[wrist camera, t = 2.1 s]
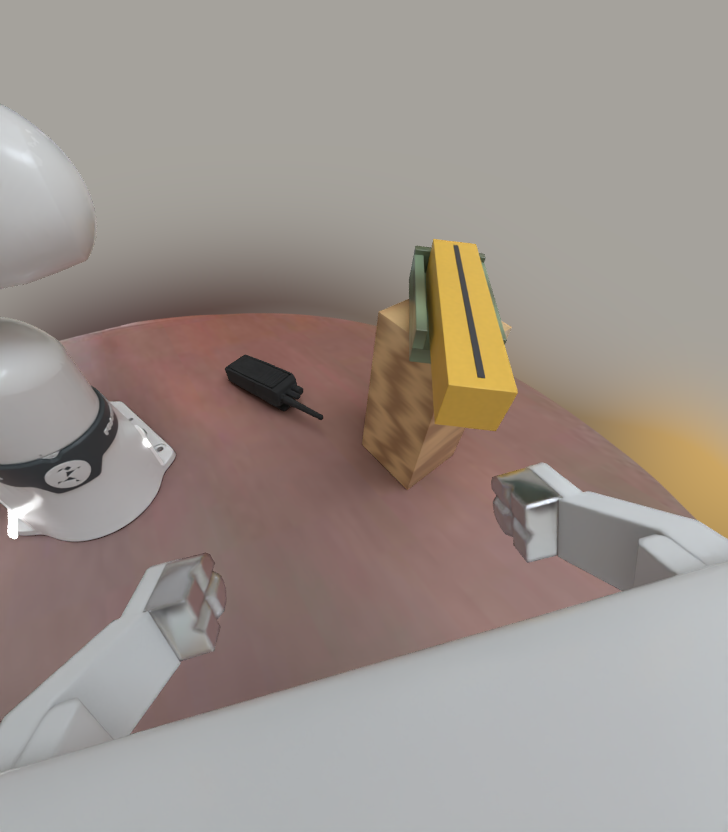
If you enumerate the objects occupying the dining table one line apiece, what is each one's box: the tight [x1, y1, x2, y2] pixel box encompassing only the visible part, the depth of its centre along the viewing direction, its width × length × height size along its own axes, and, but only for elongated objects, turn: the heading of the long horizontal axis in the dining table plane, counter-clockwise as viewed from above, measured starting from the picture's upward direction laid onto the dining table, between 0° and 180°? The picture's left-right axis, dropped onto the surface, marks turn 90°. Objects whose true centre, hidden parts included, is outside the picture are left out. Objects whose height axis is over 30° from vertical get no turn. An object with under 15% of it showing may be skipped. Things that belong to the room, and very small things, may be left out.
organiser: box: [362, 246, 512, 490], centre depth 45 cm, size 15×14×28 cm
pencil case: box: [426, 239, 518, 431], centre depth 32 cm, size 22×4×4 cm, turn 175°
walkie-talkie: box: [225, 355, 323, 420], centre depth 57 cm, size 6×6×20 cm
